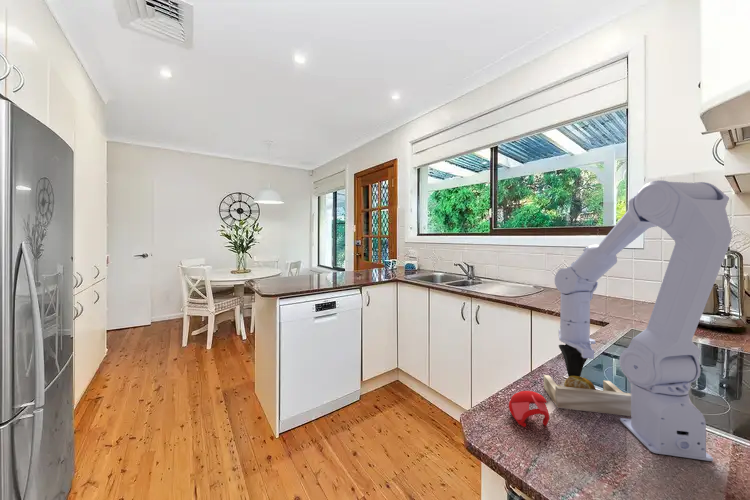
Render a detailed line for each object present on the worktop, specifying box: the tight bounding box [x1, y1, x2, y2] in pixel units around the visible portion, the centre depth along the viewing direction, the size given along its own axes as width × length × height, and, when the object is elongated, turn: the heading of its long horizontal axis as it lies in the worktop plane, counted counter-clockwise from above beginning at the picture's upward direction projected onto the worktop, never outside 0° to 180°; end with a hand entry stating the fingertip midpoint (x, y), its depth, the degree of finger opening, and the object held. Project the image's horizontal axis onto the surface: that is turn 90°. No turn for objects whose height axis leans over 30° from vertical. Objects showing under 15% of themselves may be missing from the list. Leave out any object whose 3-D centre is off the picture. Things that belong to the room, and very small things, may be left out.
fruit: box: [557, 376, 597, 390], centre depth 65 cm, size 8×8×4 cm
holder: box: [543, 374, 631, 417], centre depth 63 cm, size 9×13×4 cm
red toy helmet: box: [508, 390, 550, 428], centre depth 56 cm, size 8×6×6 cm
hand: (574, 377), depth 68 cm, fingers closed, pressing on fruit
